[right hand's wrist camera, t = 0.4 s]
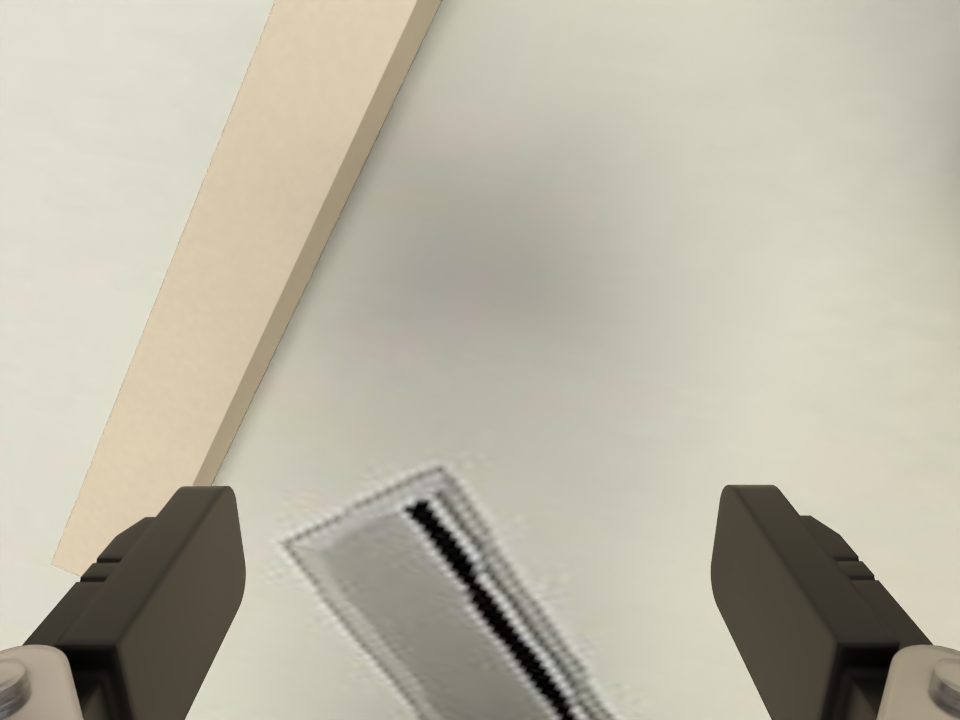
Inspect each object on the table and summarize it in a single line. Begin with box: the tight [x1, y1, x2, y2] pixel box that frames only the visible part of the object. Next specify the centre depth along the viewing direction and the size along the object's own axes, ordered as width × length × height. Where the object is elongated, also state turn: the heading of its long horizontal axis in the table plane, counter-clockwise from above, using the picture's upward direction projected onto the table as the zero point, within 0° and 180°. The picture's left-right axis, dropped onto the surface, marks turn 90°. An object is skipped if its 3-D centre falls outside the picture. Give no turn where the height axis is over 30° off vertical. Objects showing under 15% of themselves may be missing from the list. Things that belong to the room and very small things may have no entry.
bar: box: [51, 0, 442, 576], centre depth 30 cm, size 57×5×8 cm, turn 151°
